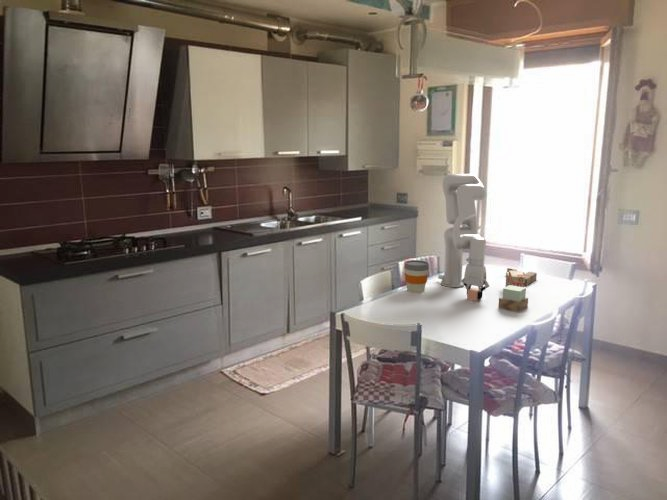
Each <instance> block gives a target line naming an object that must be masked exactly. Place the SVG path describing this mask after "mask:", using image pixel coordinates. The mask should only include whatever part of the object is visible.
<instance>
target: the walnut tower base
mask: <svg viewBox="0 0 667 500" xmlns="http://www.w3.org/2000/svg"><path fill="white" fill-rule="evenodd" d="M502 298H503V296H501V297H500V298H498V307H497V308H498V309H500V310H501V309H502V310H506V311H510V312H516V313H520V312H522V311H524V310H527V309H528V307H529V306H528V305H529V298H528V297H525V298H524V299H523V300H521V301H520V302H517V301H512V300H507V299H502Z"/></svg>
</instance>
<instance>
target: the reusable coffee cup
mask: <svg viewBox="0 0 667 500" xmlns="http://www.w3.org/2000/svg"><path fill="white" fill-rule="evenodd" d="M429 267H430V264H429V262H427V261H425V260H417V259H416V260H413V259H412V260H407V261H405V262H404V270H405V272H404V278H405V279H404V280H405V283H406V290H407V292H408V293H413V294H422V292H423V293H425V289H426V285H427V282H428V276H429V273H428V272H429Z"/></svg>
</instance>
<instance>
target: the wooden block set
mask: <svg viewBox="0 0 667 500" xmlns="http://www.w3.org/2000/svg"><path fill="white" fill-rule="evenodd" d="M506 270H507V271H506V272H509V270H510V271H518V270H517V269H516V268H509V267H508V268H507V269H506ZM521 272H522V273H523V274H524V276H525V283H524V287H526V286H528V285H530V284H532V283H534V282H535V281H536V280H537V274H538V273H537V272H533V271H528V272H526V273H525V272H523V271H521Z"/></svg>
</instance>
